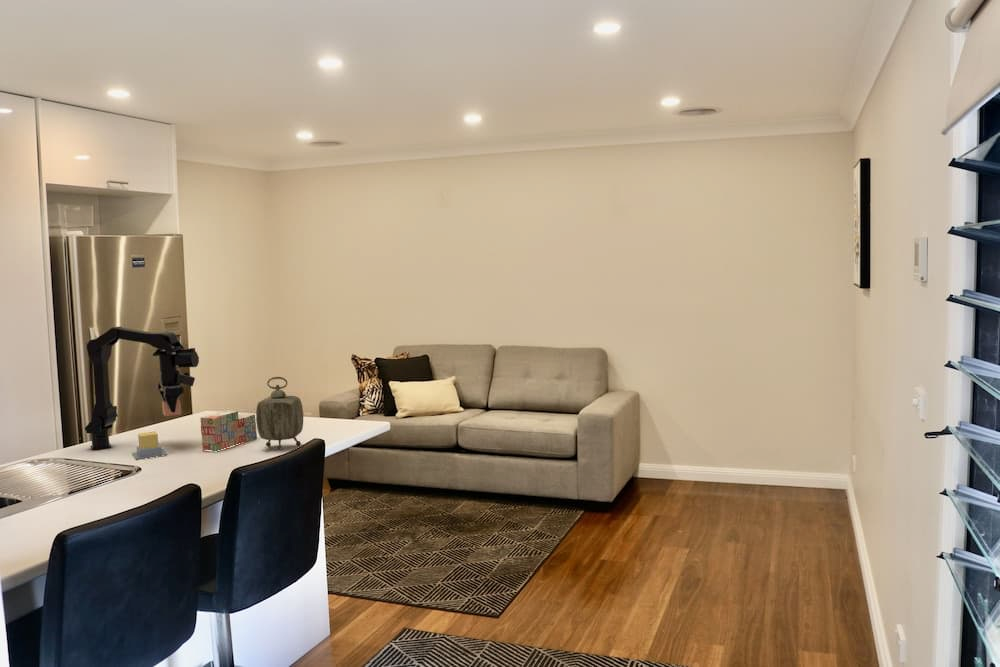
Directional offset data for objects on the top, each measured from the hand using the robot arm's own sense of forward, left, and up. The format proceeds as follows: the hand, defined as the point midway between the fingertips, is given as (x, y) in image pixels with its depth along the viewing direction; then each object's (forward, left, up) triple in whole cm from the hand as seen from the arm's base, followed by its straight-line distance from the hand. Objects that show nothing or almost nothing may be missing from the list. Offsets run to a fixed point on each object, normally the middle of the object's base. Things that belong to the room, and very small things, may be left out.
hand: (171, 411), depth 300 cm
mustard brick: (+9, -10, -10) cm, 16 cm away
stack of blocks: (+11, +17, -13) cm, 24 cm away
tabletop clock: (+29, +31, -13) cm, 44 cm away
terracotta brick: (0, 0, -1) cm, 1 cm away
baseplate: (+9, -9, -13) cm, 18 cm away
